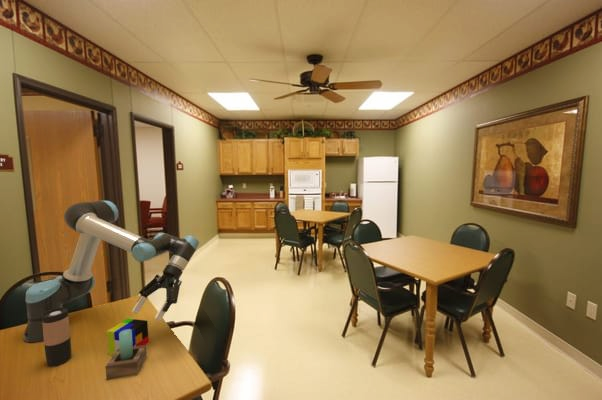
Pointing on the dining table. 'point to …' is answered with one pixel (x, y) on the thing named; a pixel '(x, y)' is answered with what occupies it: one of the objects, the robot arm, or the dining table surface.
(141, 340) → the puzzle toy
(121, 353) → the teal dowel
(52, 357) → the travel mug
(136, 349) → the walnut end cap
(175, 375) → the dining table surface
